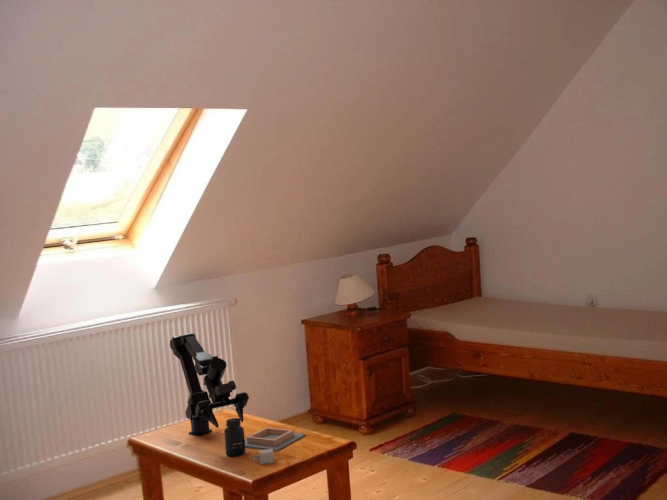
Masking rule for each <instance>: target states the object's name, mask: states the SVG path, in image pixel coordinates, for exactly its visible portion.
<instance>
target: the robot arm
mask: <svg viewBox="0 0 667 500" xmlns="http://www.w3.org/2000/svg"><path fill="white" fill-rule="evenodd" d="M169 347H170V349H171V351H172V354H173V355H174V356H175V357H176V358H177V359H179V361H180V366H181V368H182V372H183V377H184V379H185V382H186V383H185V384H186V386H187V390H188V394H189V395H188V399H187V407H186V410H185V417H186V419H188V420H189V421H190V427H191V431H189V432H188V434H189V435H194V436H203V435H205V434H209V433H211V432H213V429H210V423H211V424H212V425H213V426H214V427H215V428H217V429H218V428H219V427H220V426H219V423H218V421H217V420H218V419H217V418H216V416H215V414H214V411H213V410H214V409H217V408H223V407H227V406H231V405H234V408H235V412H236V414H237V416H238V418H239V419H240V422H241V423H243V422H244V408H245V407H246V406H247V404H248V401H249V399H250V396H249V394H248V393H247V392H246V391H244V392H238V393H235V396H234V398H230V397H231V393H232V392H233V391H235V390H236V389H237V386H236V383H235V381H234V380H229V381H228V382H227V383H223V381H222V378H223V377H224V375H225V372H226V368H227V367H228V366H227V362H226V361H225V360H224V359H222V358H219V357H218V355H215V356H214V355H212V354H210V353H207V352H206V351H205V350H204V348H203V346H202V345H201V344H200V342H199V341H198V339H197V336H196V334H195V333H194V332H188V333H183V334H181V335H177V336H172V337H171V339H170V340H169ZM198 376H204V377H203V386H205V387H206V389H207V391H204V390H203V389H202V387H201V383H200V380H199V377H198ZM229 398H230V399H229Z"/></svg>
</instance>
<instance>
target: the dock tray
mask: <svg viewBox="0 0 667 500" xmlns="http://www.w3.org/2000/svg"><path fill="white" fill-rule="evenodd" d="M303 437H306V433H303V432H301V433H300V432H294V429H285V428H277V427H265V428H263V429H261V430H259V431H256V432H255V433H253V434H250V435H248V436H246V438H245V449H247V448H248V449H255V450H265V449H273V452H278V451H280V450H282V449H284V448H285V447H288V446H289V445H291V444H292V443H295V442H297V441H299V440H300V439H302V438H303Z"/></svg>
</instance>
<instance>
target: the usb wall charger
mask: <svg viewBox="0 0 667 500" xmlns="http://www.w3.org/2000/svg"><path fill="white" fill-rule="evenodd" d="M251 457H252V461H260V462H259V464H260V466H261V465H270V464H274V463H275V460H274V451H273V449H265V450H262V449H259V454H258V455H252V456H251Z"/></svg>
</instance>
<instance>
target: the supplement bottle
mask: <svg viewBox="0 0 667 500" xmlns="http://www.w3.org/2000/svg"><path fill="white" fill-rule="evenodd" d="M225 425H226V427H225V429H224V430H223V432H224V433H223V434H224V446H225V447H224V448H225V455H226V456H227V457H231V458H235V457H236V458H237V457H241V456H243V455H245V454H246V447H245V440H246V437H245V429H244V427H243V426H242V422H241V420H240V418H239V417H232V418H231V417H230V418H228V419H226V422H225Z"/></svg>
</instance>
